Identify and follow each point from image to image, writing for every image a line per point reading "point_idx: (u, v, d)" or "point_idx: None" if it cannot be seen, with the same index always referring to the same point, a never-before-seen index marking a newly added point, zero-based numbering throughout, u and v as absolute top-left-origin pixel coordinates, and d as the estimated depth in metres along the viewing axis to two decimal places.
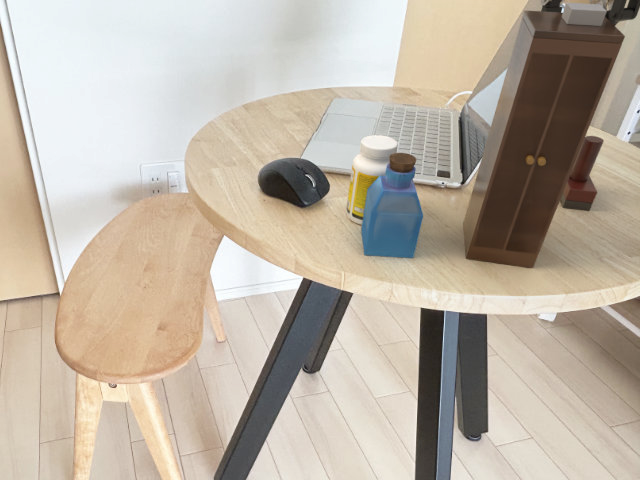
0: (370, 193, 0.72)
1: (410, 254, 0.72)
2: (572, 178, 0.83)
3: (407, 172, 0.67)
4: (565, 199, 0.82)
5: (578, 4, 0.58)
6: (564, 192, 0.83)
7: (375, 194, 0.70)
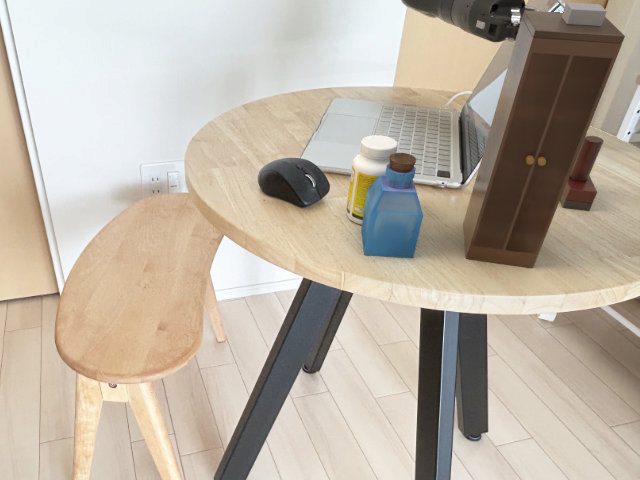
0: (370, 193, 0.72)
1: (410, 254, 0.72)
2: (572, 178, 0.83)
3: (407, 172, 0.67)
4: (565, 199, 0.82)
5: (578, 4, 0.58)
6: (564, 192, 0.83)
7: (375, 194, 0.70)
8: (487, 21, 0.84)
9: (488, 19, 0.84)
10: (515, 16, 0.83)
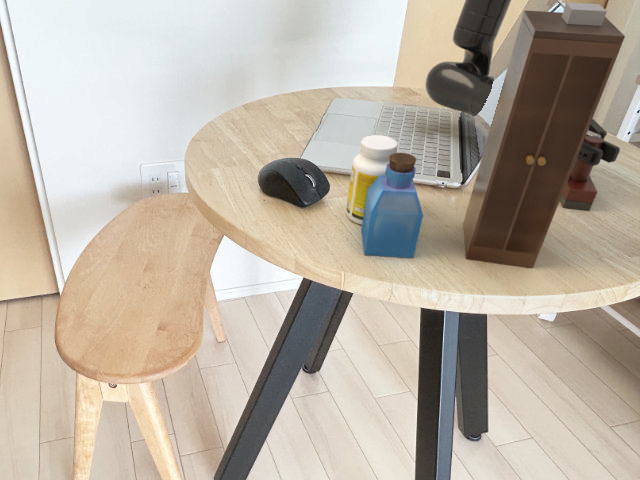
0: (370, 193, 0.72)
1: (410, 254, 0.72)
2: (572, 178, 0.83)
3: (407, 172, 0.67)
4: (565, 199, 0.82)
5: (578, 4, 0.58)
6: (564, 192, 0.83)
7: (375, 194, 0.70)
8: None
9: None
10: None
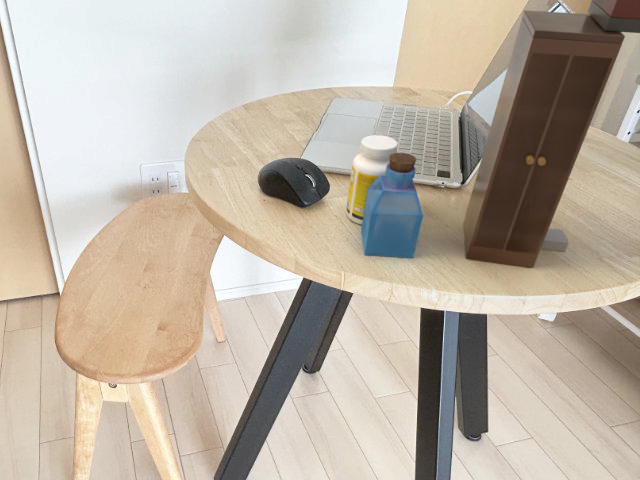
0: (370, 193, 0.72)
1: (410, 254, 0.72)
2: None
3: (407, 172, 0.67)
4: (610, 16, 0.54)
5: None
6: (608, 8, 0.55)
7: (375, 194, 0.70)
8: None
9: None
10: None
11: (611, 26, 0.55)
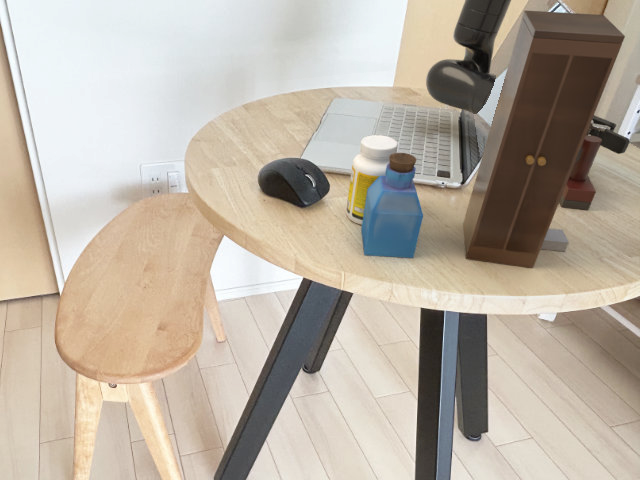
0: (370, 192, 0.72)
1: (410, 254, 0.72)
2: (571, 178, 0.83)
3: (407, 172, 0.67)
4: (564, 199, 0.82)
5: None
6: (563, 191, 0.83)
7: (375, 194, 0.70)
8: None
9: None
10: None
11: (565, 204, 0.82)
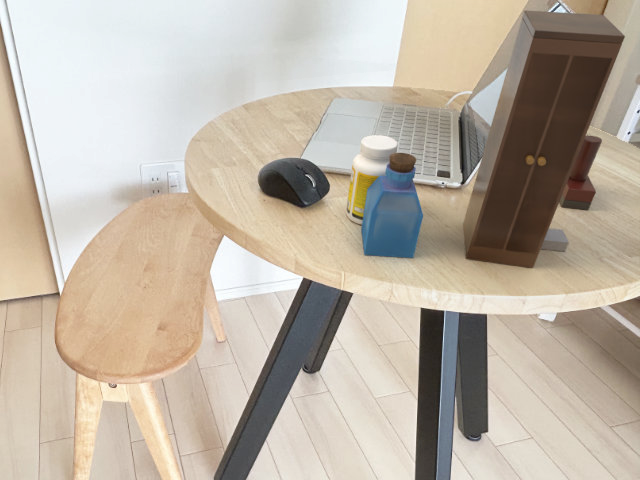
0: (370, 193, 0.72)
1: (410, 254, 0.72)
2: (571, 178, 0.83)
3: (407, 172, 0.67)
4: (564, 199, 0.82)
5: None
6: (563, 191, 0.83)
7: (375, 194, 0.70)
8: None
9: None
10: None
11: (565, 204, 0.82)
